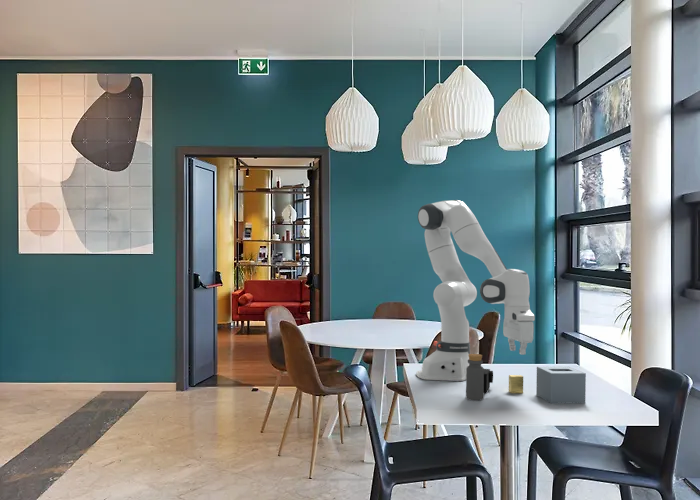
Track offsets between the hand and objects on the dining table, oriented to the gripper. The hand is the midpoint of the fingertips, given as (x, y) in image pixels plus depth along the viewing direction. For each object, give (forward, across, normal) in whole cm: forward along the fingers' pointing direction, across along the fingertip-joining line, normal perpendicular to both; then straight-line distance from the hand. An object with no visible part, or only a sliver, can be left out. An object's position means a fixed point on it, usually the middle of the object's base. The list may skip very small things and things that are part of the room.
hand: (517, 352), depth 211 cm
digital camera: (+14, -5, -11) cm, 19 cm away
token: (+14, 0, 0) cm, 15 cm away
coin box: (+15, +9, +12) cm, 21 cm away
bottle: (+14, +8, -18) cm, 25 cm away
